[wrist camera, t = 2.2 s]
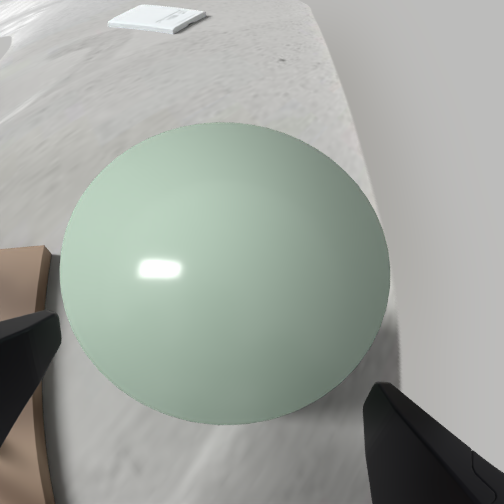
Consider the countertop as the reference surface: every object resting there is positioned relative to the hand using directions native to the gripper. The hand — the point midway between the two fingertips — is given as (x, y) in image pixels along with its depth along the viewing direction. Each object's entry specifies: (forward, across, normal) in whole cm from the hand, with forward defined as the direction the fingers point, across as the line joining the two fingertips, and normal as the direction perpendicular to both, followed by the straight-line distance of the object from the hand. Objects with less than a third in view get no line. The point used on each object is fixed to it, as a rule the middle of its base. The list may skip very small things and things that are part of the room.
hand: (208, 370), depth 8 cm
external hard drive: (+38, +20, -23) cm, 48 cm away
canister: (+8, 0, +5) cm, 10 cm away
